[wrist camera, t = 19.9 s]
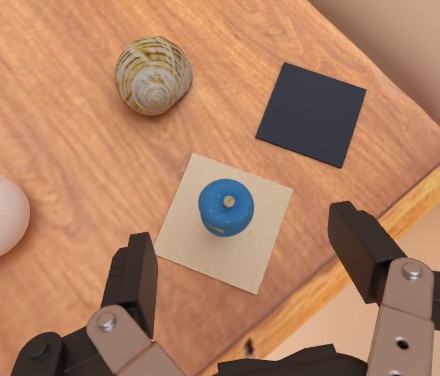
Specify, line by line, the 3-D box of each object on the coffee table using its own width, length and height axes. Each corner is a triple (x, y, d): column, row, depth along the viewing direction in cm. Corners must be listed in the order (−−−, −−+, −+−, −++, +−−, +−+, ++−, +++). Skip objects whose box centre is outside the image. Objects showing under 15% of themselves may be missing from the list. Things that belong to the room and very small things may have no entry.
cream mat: (293, 189, 42) (293, 189, 41) (256, 295, 39) (257, 295, 39) (193, 153, 43) (193, 152, 43) (151, 252, 40) (150, 252, 40)
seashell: (182, 37, 46) (187, 17, 36) (197, 105, 48) (205, 104, 39) (111, 50, 45) (96, 34, 35) (130, 120, 47) (121, 122, 38)
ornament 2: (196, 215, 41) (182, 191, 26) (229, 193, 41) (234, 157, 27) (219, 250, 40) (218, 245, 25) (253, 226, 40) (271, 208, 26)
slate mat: (365, 91, 45) (366, 89, 44) (340, 168, 42) (342, 167, 42) (283, 63, 46) (284, 61, 45) (255, 137, 43) (255, 136, 43)
